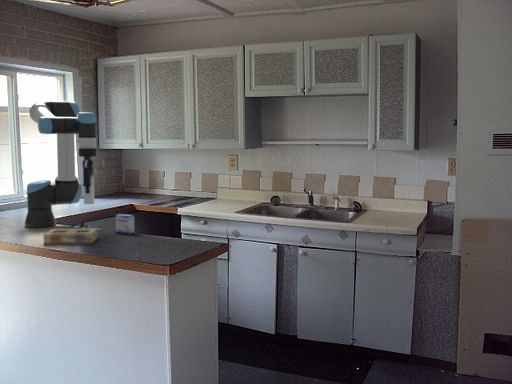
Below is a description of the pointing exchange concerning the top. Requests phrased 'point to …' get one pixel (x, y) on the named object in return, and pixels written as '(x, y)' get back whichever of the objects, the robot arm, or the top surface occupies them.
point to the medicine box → (125, 223)
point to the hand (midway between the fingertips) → (88, 199)
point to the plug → (91, 190)
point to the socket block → (70, 236)
